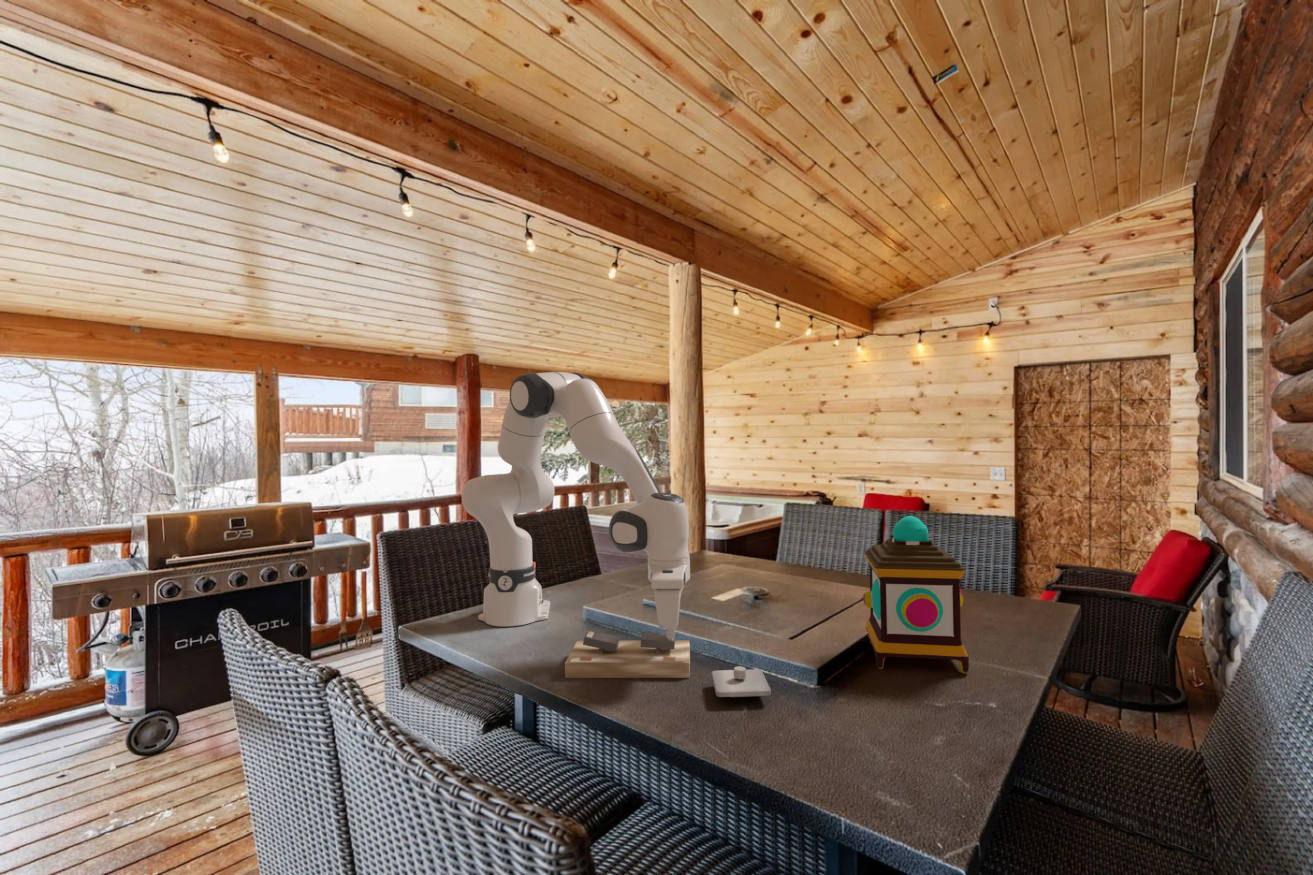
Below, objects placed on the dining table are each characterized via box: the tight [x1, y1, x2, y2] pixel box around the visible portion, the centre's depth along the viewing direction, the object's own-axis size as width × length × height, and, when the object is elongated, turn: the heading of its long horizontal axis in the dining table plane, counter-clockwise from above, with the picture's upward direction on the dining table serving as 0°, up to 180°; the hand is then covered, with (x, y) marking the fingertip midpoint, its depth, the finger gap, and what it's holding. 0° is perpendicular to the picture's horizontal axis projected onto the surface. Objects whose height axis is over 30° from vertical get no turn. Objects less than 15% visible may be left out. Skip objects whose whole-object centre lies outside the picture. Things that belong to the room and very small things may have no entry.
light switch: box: [711, 665, 772, 698], centre depth 112 cm, size 10×10×5 cm
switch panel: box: [564, 639, 691, 679], centre depth 127 cm, size 13×25×4 cm, turn 86°
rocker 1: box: [583, 630, 620, 652], centre depth 127 cm, size 4×7×2 cm, turn 86°
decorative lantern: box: [862, 515, 970, 674], centre depth 128 cm, size 20×20×30 cm
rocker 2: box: [640, 632, 676, 649], centre depth 127 cm, size 4×7×2 cm, turn 86°
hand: (670, 636), depth 127 cm, fingers closed
